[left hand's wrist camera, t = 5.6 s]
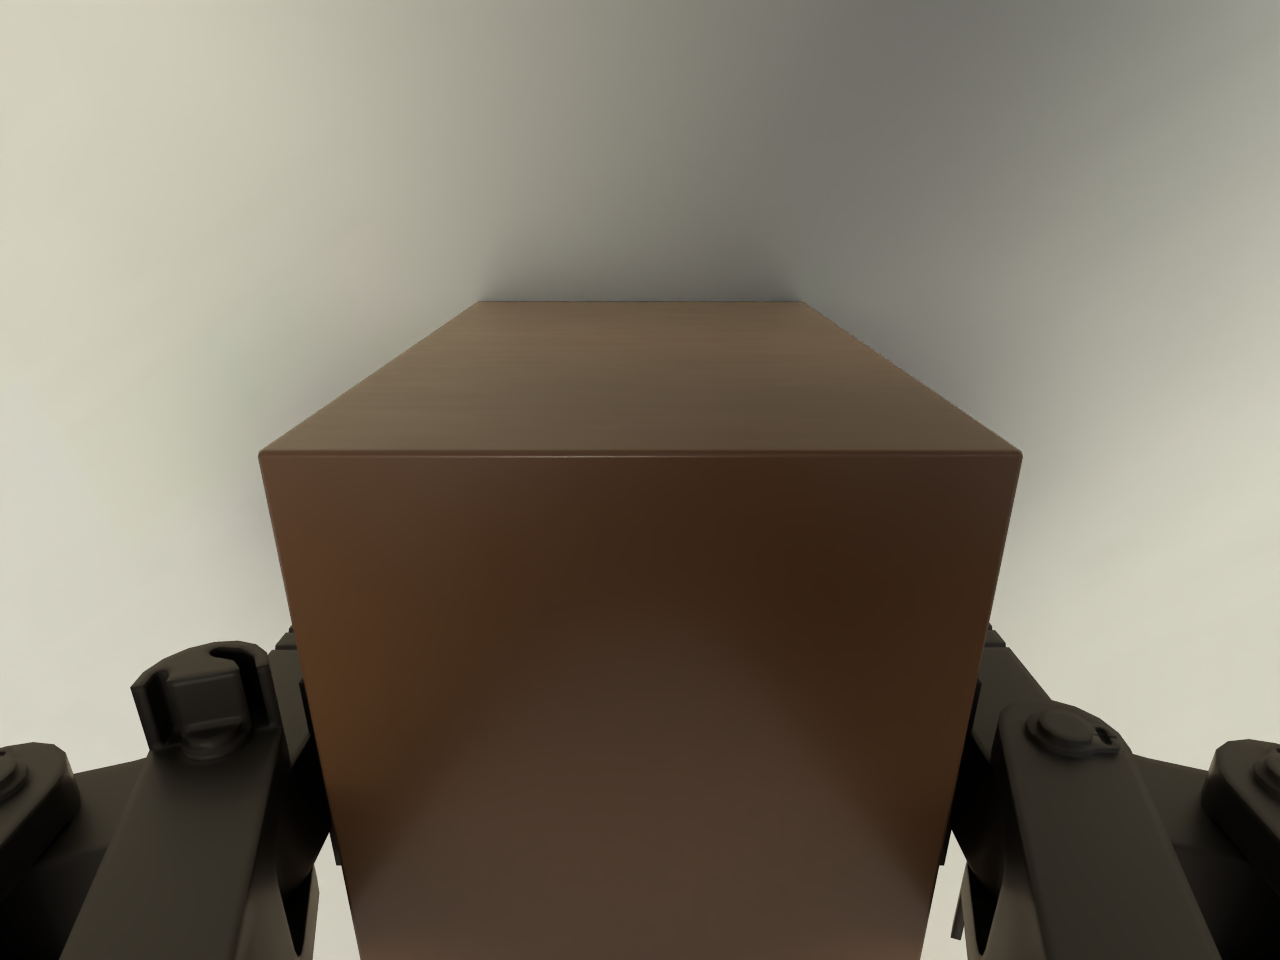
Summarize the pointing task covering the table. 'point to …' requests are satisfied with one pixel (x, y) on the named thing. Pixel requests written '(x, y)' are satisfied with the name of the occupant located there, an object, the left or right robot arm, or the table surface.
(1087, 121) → the table surface
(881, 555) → the post
